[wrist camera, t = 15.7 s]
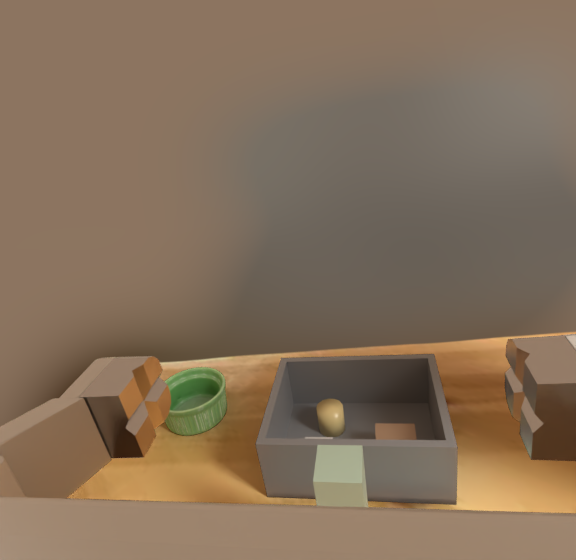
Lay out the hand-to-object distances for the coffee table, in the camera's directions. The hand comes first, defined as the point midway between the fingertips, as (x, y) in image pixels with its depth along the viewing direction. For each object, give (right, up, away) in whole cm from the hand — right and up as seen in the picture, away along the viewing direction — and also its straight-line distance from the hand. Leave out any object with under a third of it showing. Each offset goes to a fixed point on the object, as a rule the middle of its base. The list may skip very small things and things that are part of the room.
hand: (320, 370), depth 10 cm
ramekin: (-13, -16, +47) cm, 51 cm away
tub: (+7, -16, +38) cm, 42 cm away
